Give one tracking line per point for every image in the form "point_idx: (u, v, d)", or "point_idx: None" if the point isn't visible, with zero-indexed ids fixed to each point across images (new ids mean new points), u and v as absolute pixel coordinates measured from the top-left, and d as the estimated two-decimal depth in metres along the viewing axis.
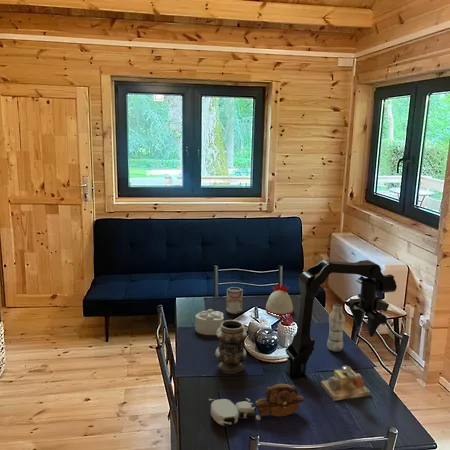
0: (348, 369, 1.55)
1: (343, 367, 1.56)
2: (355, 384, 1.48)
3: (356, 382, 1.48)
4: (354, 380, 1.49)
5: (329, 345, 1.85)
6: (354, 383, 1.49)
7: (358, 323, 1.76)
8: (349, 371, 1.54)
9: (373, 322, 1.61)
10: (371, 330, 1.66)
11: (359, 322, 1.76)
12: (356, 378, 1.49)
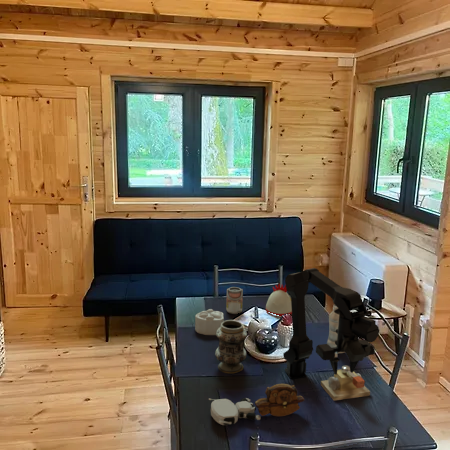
0: (348, 369, 1.55)
1: (343, 367, 1.56)
2: (355, 384, 1.48)
3: (356, 382, 1.48)
4: (354, 380, 1.49)
5: (329, 345, 1.85)
6: (354, 383, 1.49)
7: (350, 368, 1.47)
8: (349, 371, 1.54)
9: None
10: (331, 364, 1.46)
11: (351, 367, 1.47)
12: (356, 378, 1.49)
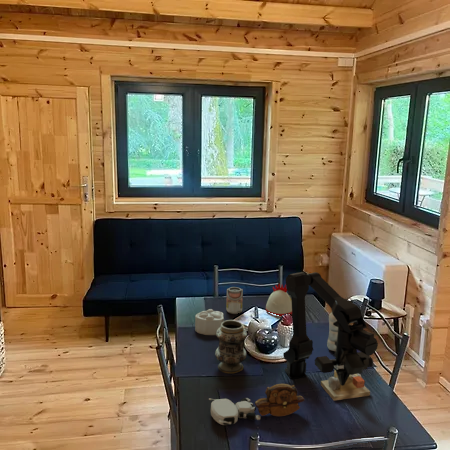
0: None
1: None
2: (355, 384, 1.48)
3: (356, 382, 1.48)
4: (354, 380, 1.49)
5: (329, 345, 1.85)
6: (354, 383, 1.49)
7: None
8: None
9: None
10: (337, 375, 1.47)
11: None
12: (356, 378, 1.49)
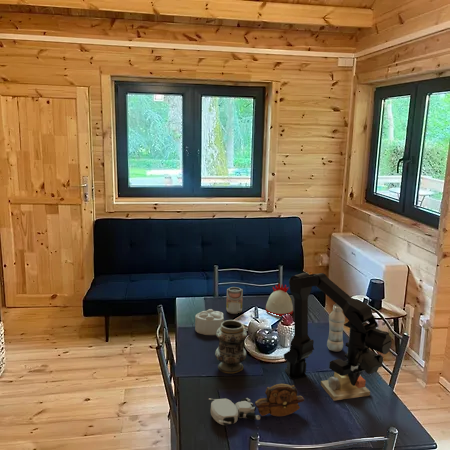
0: None
1: None
2: (356, 384, 1.48)
3: (357, 382, 1.48)
4: None
5: (329, 345, 1.85)
6: None
7: None
8: None
9: (329, 365, 1.44)
10: (349, 376, 1.48)
11: None
12: None
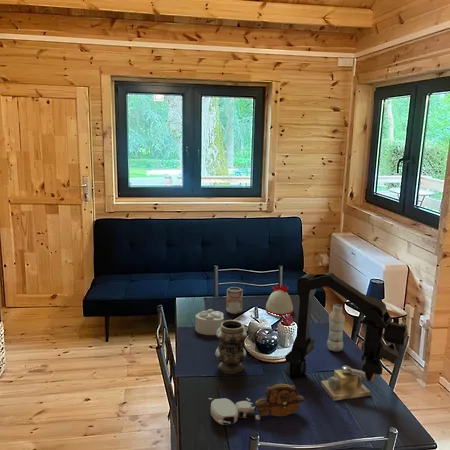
0: (349, 368, 1.56)
1: (344, 368, 1.55)
2: None
3: (372, 376, 1.51)
4: None
5: (329, 345, 1.85)
6: None
7: (368, 377, 1.51)
8: (352, 369, 1.55)
9: (363, 369, 1.42)
10: (366, 373, 1.50)
11: (370, 376, 1.50)
12: None
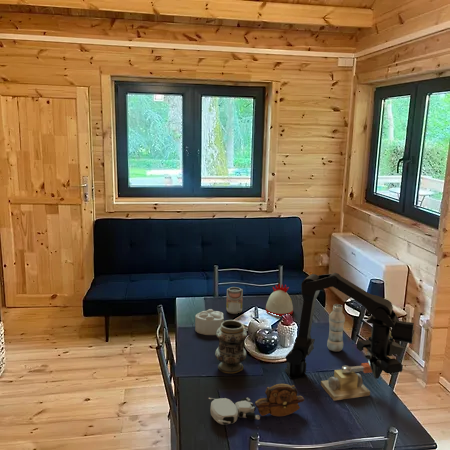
0: (348, 367, 1.56)
1: (346, 369, 1.55)
2: (369, 370, 1.57)
3: (370, 368, 1.57)
4: (367, 368, 1.57)
5: (329, 345, 1.85)
6: (367, 370, 1.57)
7: None
8: (352, 367, 1.57)
9: (387, 371, 1.42)
10: (377, 372, 1.51)
11: None
12: (366, 365, 1.57)
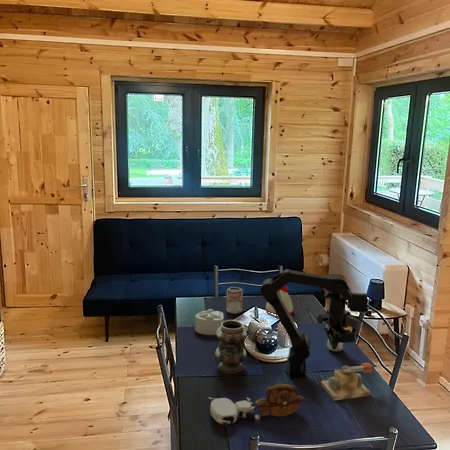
0: (348, 367, 1.56)
1: (346, 369, 1.55)
2: (369, 370, 1.57)
3: (370, 368, 1.57)
4: (367, 368, 1.57)
5: (329, 345, 1.85)
6: (367, 370, 1.57)
7: None
8: (352, 367, 1.57)
9: (340, 341, 1.52)
10: (333, 343, 1.61)
11: None
12: (366, 365, 1.57)
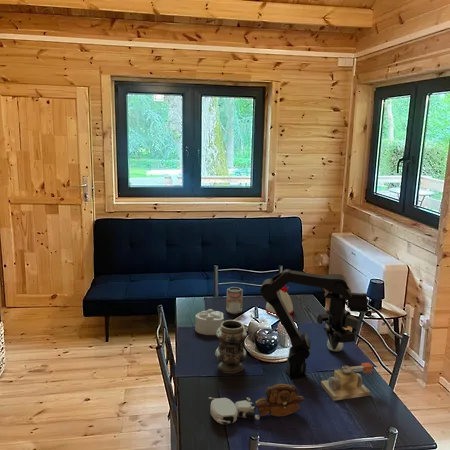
0: (348, 367, 1.56)
1: (346, 369, 1.55)
2: (369, 370, 1.57)
3: (370, 368, 1.57)
4: (367, 368, 1.57)
5: (329, 345, 1.85)
6: (367, 370, 1.57)
7: None
8: (352, 367, 1.57)
9: (340, 340, 1.52)
10: (333, 343, 1.61)
11: None
12: (366, 365, 1.57)
